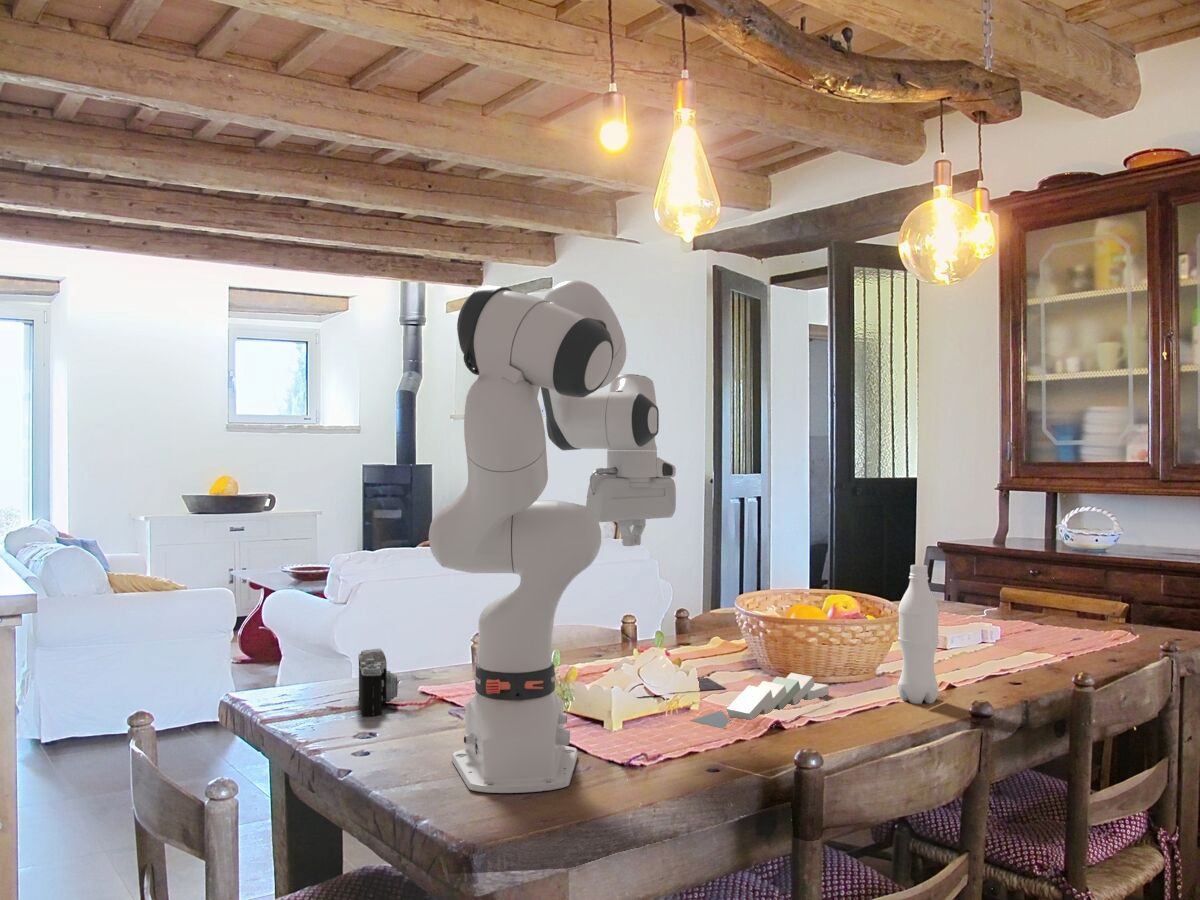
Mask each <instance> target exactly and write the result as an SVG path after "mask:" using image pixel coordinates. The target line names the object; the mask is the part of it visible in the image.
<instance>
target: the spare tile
mask: <svg viewBox="0 0 1200 900" xmlns="http://www.w3.org/2000/svg"><path fill="white" fill-rule="evenodd" d="M771 683H776V684H781V685H785V687H786V691H787V695H786V696H785V697H784V698H783V699H782V700H781V701H780V702H779V703H778V705H777V706H776V707H775V708H774V709H778V710H780V709H783V708H784V707H785V706H786V705H787V704H788V703H789V702H790V700H791V699H792V698H793V697H794V696H795V695H796V694H797V693H798V691H799V690H800V684H799V681H798V680H793V679H787V678H786V677H781V676H776V677H775V678H774V679H773V680H772V681H771Z"/></svg>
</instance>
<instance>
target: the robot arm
mask: <svg viewBox="0 0 1200 900" xmlns="http://www.w3.org/2000/svg"><path fill="white" fill-rule="evenodd" d="M456 323H457V324H456V327H457V328H456V330H457V338H458V343H459V347H460V349H461V352H462V354H463V363H464V365H465V366H466V368H467V369H468V370H469V371H470V372H471V373H472V375H475V376H478V378H477V379H476V380H475V381H474V382H473V383H472V384H471V386H470V388H469V389H468V391H467V394H466V398H465V399H466V400H465V404H464V405H465V406H464V417H463V418H464V419H463V433H464V434H463V435H464V443H465V444H464V445H465V446H464V447H465V454H466V461H467V485H466V487H465V488H464V490H463V492H462V493H461V494H460V495H459V496H458V497H456V498H455V499H454V500H452V501H450V502H449V503H446V504H444V505H442V506H441V507H440V508H439V509H438V511H437V512H436V513H435V514H434V516H433V518H432V520H431V522H430V525H429V531H428V544H429V548H430V551H431V554H432V556H433V557H434V559H435V561H436V562H437V563H438V565H440V566H441V567H442V568H444V569H449V570H454V571H459V572H465V573H469V574H515V575H518V576H519V577H520V581H519V586H517V588H516V589H514V590H513V591H511V592H509V593H507V594H504V595H502V596H501V597H499V598H497V599H495V600H494V601H491V603H489V604H488V605H486V606H485V607H484V608H483V609H482V611H481V612H480V615H479V618H478V627H477V629H478V635H477V636H478V638H477V639H478V644H477V645H478V646H477V647H478V650H477V651H478V653H477V654H478V662H477V665H476V666H475V673H474V685H475V686H474V689H475V694H474V695H473V697H472V698H471V699H470V700H469V701H468V702H467V703H466V704H465V720H464V721H465V723H464V731H465V732H464V733H465V734H464V737H463V742H464V748H463V749H459V750H457V751H454V752H452V755H451V762H452V763H453V765H454V766H455V768H456V770H457V771H458V773H459V775H460V776H461V778H462V780H463V782H464V783H465V785H466V786H467V788H468V789H469V790H471V791H474V792H479V793H492V794H495V793H497V794H513V793H515V794H518V793H519V794H520V793H535V792H543V791H544V792H545V791H552V790H558V789H562V788H565V787H566V788H567V787H569V785H570V783H571V782H572V781H571V780H572V777H573V774H574V770H575V767H576V763H577V759H578V749H577V748H576V747H573V746H569V745H570V740H571V731H570V730H571V729H569V728H565V727H564V726H565V724H568V714H567V713H564V712H565V711H564V700H563V699H561V697H559V696H558V695H557V694H556V692H555V690H556V672H555V671H556V670H555V664H554V663H553V661H552V659H553V658H552V657H553V654H552V653H553V632H554V622H555V621H554V620H555V616H556V611H557V609H558V605H559V602H560V600H561V598H562V596H563V594H564V593H565V591H566V589H567V588H568V587H569V585H570V584H571V583H572V581H574V579H576V578H577V576H579V575H580V574H581V573H582V572H583V571H585V570H586V569H588V568H589V567H590V566H591V565H592V563H593V562H594V561H595V560H596V557H597V556H598V554H599V552H600V548H601V545H602V530H601V526H600V523H610V522H617V528H618V530H619V532H620V535H621V536H622V538H621V539H622V541H621V542H622V546H623V547H633V546H634V547H635V546H636V547H637V546H640V545H641V544H642V543H641V540H642V539H641V538H642V537H641V536H642V535H643V532H644V530H645V528H646V521H647V520H653V519H654V520H655V519H669V518H673V516H674V514H675V512H676V508H677V506H676V505H677V502H676V501H677V489H676V487H677V486H676V482H675V481H674V479H673V478H674V477H675V476H676V473H677V472H676V471H677V468H676V466H675V465H674V464H672V463H670V462H668V461H666V460H664V459H662V458H660V457H658V449H657V448H658V447H657V444H656V436H657V435H658V434H659V429H660V428H659V427H660V426H659V425H660V423H659V421H660V419H659V416H660V414H659V412H660V411H659V407H658V406H657V399H656V390H655V385H654V381H653V380H652V379H651V378H649V377H648V376H645V375H641V374H640V375H639V374H620V373H621V372H622V370H623V367H624V365H625V362H626V359H627V344H626V338H625V335H624V331H623V330H622V325H621V324H620V322H619V319H618V317H617V315H616V312H615V311H614V310H613V308H612V306H611V305H610V303H609V302H608V300H607V298H605V296H604V294H603V293H601V292H600V290H599V289H598V288H596V287H595V286H594V285H593V284H591V283H589V282H586V281H583V280H577V279H576V280H574V279H573V280H566V281H564V282H560V283H559V284H556V285H555V286H553V287H552V288H551V289H550V290H549V291H548V292H547V294H546V295H545V297H544V298H540V297H538V296H535V295H530V294H527V293H522V292H518V291H513V290H512V289H511V288H509V287H506V286H499V285H484V286H480V287H478V288H477V289H476V290H475V291H473V292H472V293H471V294H470V295H469V296H468V297H467V298H466V299H465V301H464V303H463V305H462V306H461V309H460V311H459V314H458V317H457V322H456ZM609 384H610V387H609V391H605V392H603V391H597V390H600V389H602V388H604V387H606V386H608V385H609ZM540 391H541V396H542V402H543V406H544V410H545V417H546V419H545V424H544V419H543V418H544V417H543V413H542V410H541V406H540V402H539V400H538V397H539V393H540ZM545 427H546V430H545ZM545 431H546V432H545ZM546 433H547V436H548V439H549V440H550V441H551V442H552V444H554V446H556V448H558V449H560V450H561V451H574V450H583V449H585V450H588V449H589V450H592V449H593V450H594V449H595V450H599V449H600V450H606V456H607V457H606V467H605V468H603V467H598V468H596V469H595V470H594V471H593V472H592V473H591V475H590V476H589V484H588V489H587V493H586V494H587V495H586V502H585V505H583V504H578V503H574V502H570V501H569V502H568V501H563V500H562V501H561V500H549V499H548V500H541V499H540V500H538V499H539V498H540V497H541V495H542V494H543V492H544V491H545V488H546V487H547V484H548V480H549V471H548V469H549V468H548V456H547V455H548V454H547V439H546ZM632 526H633V527H632ZM631 527H632V530H631Z"/></svg>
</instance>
